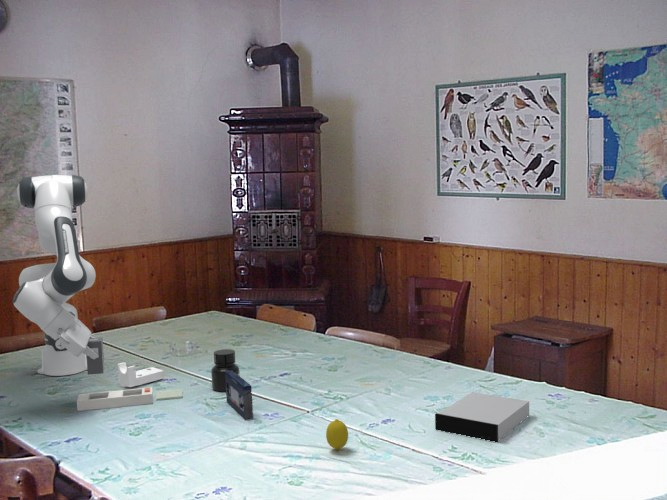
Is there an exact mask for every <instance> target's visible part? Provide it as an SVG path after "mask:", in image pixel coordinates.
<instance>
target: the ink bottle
mask: <svg viewBox="0 0 667 500" xmlns="http://www.w3.org/2000/svg"><path fill="white" fill-rule="evenodd" d="M213 363H214V366H212V368H211V371H210V372H211V375H210V376H211V388H212V390H214V391H216V392H221V393H222V392H223V393H224V392H225V393H226V383H225V379H226V378H225V371H229V370H232V371H233V372H235V373H236V374H237V375H239V376H240V377H241V375H240V367H239V366H238V365H237V364H236V351H235V350H234V349H232V348H231V349H230V348H229V349H228V348H226V349H225V348H224V349H218V350H215V351H213Z"/></svg>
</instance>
